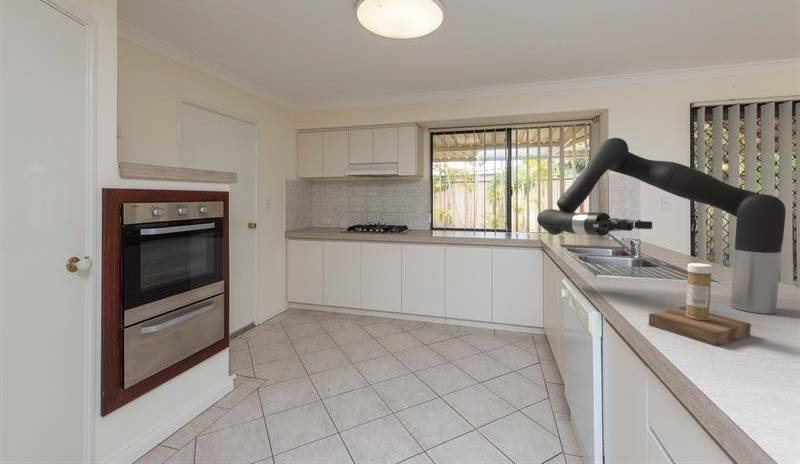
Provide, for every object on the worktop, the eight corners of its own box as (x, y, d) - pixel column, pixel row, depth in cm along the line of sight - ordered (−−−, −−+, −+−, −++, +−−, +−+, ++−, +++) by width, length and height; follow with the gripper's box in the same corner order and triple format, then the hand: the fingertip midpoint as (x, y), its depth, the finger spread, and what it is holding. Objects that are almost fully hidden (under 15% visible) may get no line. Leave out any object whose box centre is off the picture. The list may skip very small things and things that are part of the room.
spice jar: (712, 318, 83) (715, 264, 82) (705, 322, 81) (709, 266, 80) (688, 313, 87) (691, 261, 86) (681, 317, 85) (684, 264, 83)
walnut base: (681, 317, 93) (682, 306, 93) (749, 335, 80) (750, 323, 80) (648, 325, 88) (649, 313, 88) (715, 346, 75) (716, 332, 75)
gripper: (575, 213, 109) (625, 213, 94) (606, 211, 115) (658, 212, 100) (575, 236, 110) (625, 240, 95) (605, 234, 115) (657, 237, 100)
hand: (641, 226), depth 97 cm, fingers open, 8 cm apart
